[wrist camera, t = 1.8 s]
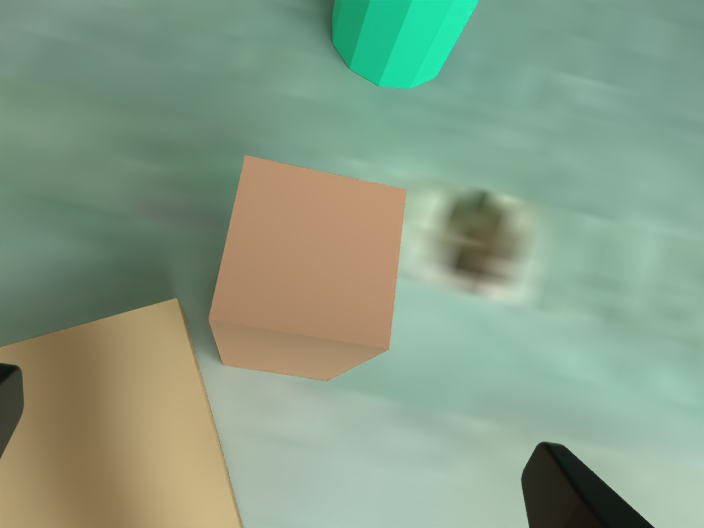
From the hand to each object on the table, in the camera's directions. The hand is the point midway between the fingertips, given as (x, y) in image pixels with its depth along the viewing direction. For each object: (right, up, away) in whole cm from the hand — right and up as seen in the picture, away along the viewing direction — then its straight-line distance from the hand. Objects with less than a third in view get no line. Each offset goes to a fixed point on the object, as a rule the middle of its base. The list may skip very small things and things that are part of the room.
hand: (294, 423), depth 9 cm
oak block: (-8, -4, +9) cm, 13 cm away
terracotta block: (-2, 0, +11) cm, 12 cm away
